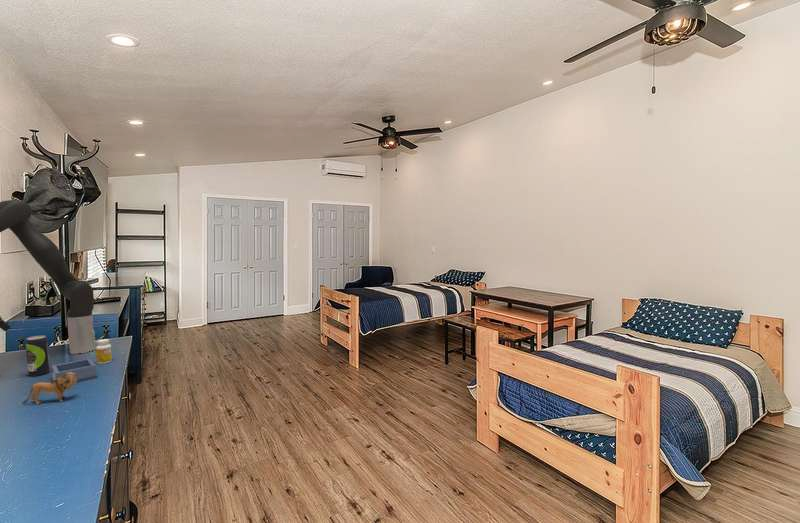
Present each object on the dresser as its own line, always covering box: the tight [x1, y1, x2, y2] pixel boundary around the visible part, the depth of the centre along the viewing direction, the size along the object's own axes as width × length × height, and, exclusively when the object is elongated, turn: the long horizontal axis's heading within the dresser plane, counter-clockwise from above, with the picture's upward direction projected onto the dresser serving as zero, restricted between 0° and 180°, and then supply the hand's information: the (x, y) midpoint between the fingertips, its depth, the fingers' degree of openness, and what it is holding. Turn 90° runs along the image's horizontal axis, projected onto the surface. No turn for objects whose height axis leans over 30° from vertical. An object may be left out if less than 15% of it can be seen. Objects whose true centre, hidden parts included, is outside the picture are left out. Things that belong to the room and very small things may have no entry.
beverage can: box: [25, 335, 50, 377], centre depth 156 cm, size 6×6×15 cm
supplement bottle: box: [95, 338, 113, 365], centre depth 171 cm, size 5×5×10 cm
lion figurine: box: [22, 372, 77, 405], centre depth 132 cm, size 15×5×9 cm, turn 116°
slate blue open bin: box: [50, 358, 98, 383], centre depth 152 cm, size 12×12×5 cm
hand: (7, 329), depth 154 cm, fingers open, 8 cm apart
